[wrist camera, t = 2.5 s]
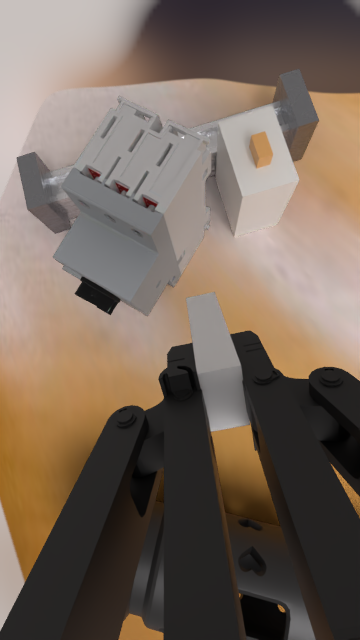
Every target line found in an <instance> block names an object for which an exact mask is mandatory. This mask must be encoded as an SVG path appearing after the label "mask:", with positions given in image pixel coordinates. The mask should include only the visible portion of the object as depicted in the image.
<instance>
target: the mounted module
mask: <svg viewBox="0 0 360 640" xmlns="http://www.w3.org/2000/svg"><path fill="white" fill-rule="evenodd" d="M216 182H217V185H218V188H219V191H220V195H221V198H222V201H223V204H224V207H225V210H226V213H227V217H228V220H229V223H230V226H231V229H232V232H233V235H234V237H238V236H241V235H245V234H248V233H251V232H255V231H258V230H262V229H265V228H268V227H272V226H275V225H277V224H278V222H279V220H280V218H281V216H282V214H283V212H284V210H285V208H286V206H287V204H288V202H289V200H290V198H291V196H292V194H293V192H294V190H295V188H296V186H297V184H298V182H299V177H298V175H297V172H296V169H295V166H294V164H293V161H292V158H291V155H290V153H289V150H288V147H287V144H286V142H285V139H284V136H283V133H282V131H281V128H280V125H279V122H278V120H277V117H276V114H275V111H274V109H273V106H269V107H266V108H262V109H259V110H256V111H253V112H250V113H246V114H243V115H240V116H237V117H233V118H230V119H227V120H224V121H221V122H218V135H217V158H216Z"/></svg>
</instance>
